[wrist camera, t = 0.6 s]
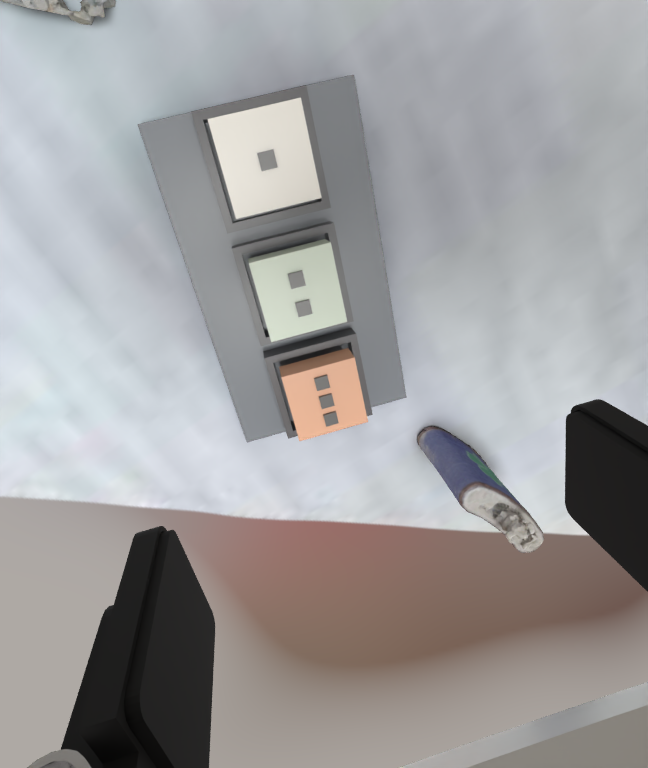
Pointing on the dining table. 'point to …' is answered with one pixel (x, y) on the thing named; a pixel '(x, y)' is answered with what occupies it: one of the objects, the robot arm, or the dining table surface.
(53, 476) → the dining table surface
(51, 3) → the egg carton
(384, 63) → the dining table surface
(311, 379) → the tile
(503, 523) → the flask
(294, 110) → the tile
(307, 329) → the tile
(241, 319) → the keypad board
